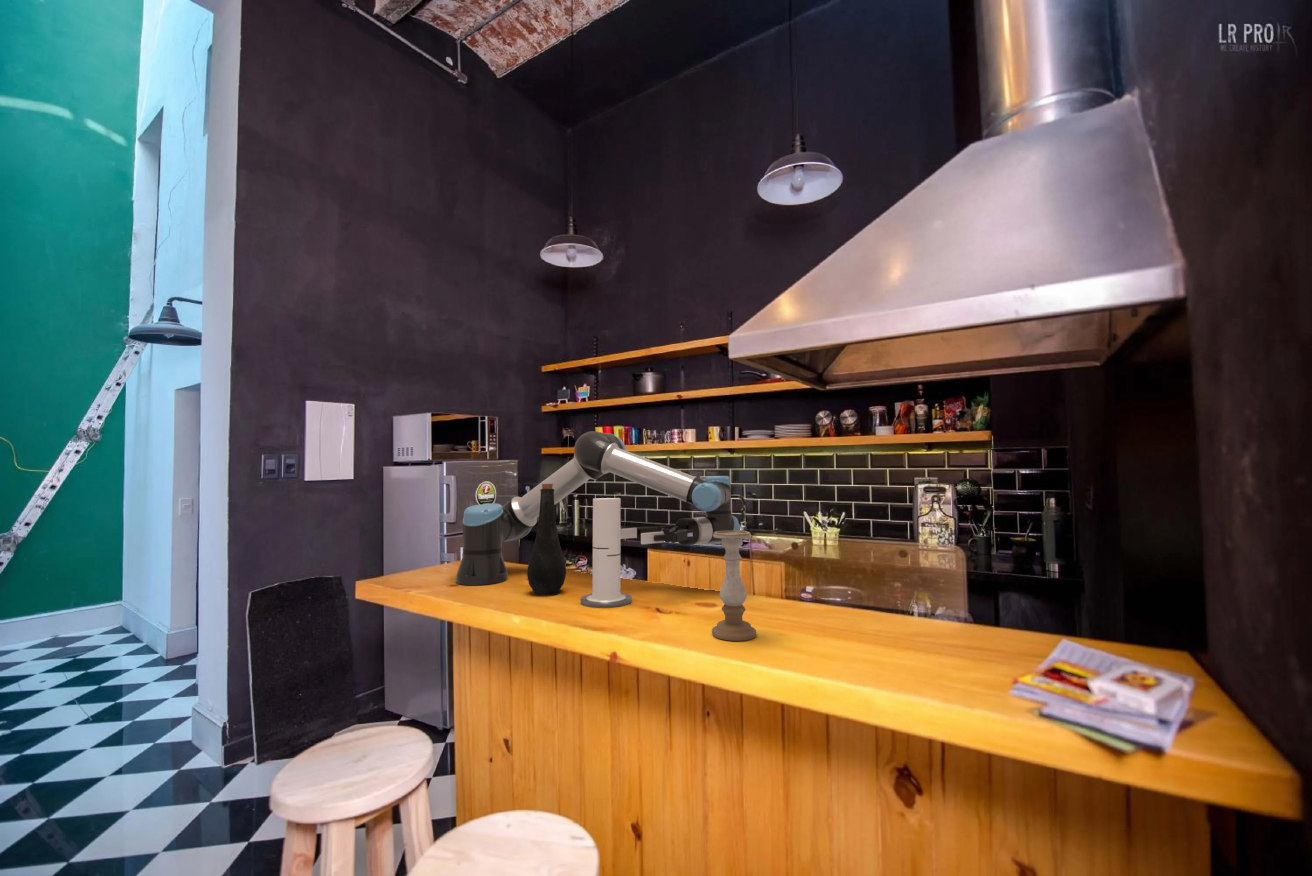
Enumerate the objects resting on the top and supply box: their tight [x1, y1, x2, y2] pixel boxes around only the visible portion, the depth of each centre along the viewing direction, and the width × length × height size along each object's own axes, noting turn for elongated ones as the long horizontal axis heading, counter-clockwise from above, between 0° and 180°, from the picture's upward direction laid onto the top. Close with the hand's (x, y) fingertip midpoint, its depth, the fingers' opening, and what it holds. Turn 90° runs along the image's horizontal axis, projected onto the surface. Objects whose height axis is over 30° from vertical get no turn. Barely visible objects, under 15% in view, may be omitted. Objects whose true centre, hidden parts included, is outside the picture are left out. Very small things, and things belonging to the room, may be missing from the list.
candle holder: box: [711, 530, 757, 642], centre depth 106 cm, size 9×9×20 cm
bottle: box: [526, 484, 567, 597], centre depth 146 cm, size 11×11×30 cm
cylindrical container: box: [591, 497, 622, 600], centre depth 135 cm, size 7×7×25 cm
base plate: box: [580, 592, 633, 609], centre depth 134 cm, size 13×13×1 cm
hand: (628, 536), depth 138 cm, fingers open, 13 cm apart
